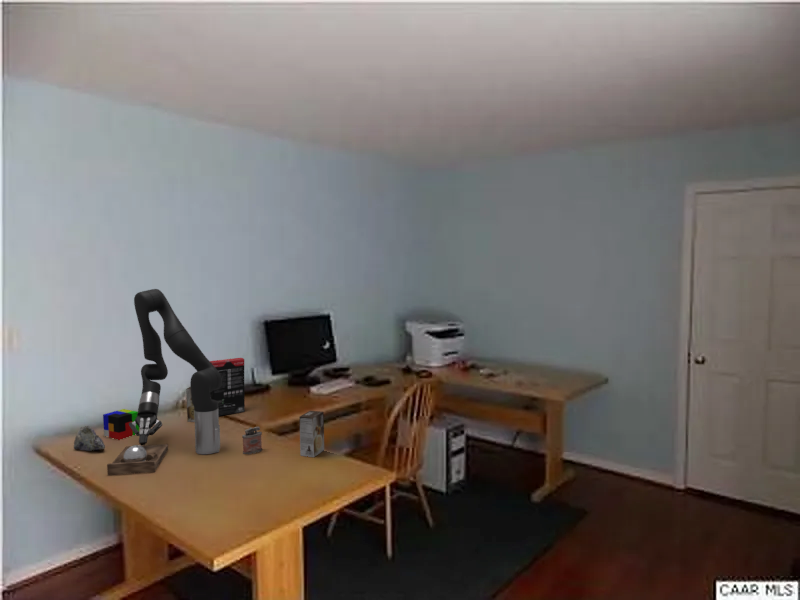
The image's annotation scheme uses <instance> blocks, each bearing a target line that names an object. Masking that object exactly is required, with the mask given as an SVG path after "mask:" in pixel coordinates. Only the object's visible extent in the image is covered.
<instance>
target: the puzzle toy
mask: <svg viewBox="0 0 800 600" xmlns="http://www.w3.org/2000/svg"><path fill="white" fill-rule="evenodd" d="M137 413H138V410H137V411H136V410H133V409H132V410H131V409H125V408H122V409H118V410H114V411H111V412H107V413H104V414H102V421H103V437H104V436H108V437H111V438H110V439H112V438H114V439H113V440H116V439H118V440H117V441H120V439H122V440H124V439H123V438H125V439H127V438H126V437H128V438H130V437H129V436H131V437H133V436H132V435H134V436H136V435H135V433H134V432H133V430H132V429H131V428H130V426H129V423H130V422H131V423H132V422H134V421H135V419H136V417H137ZM135 428H136V429H137V430H138V431H139V432H140V428H139V426H138V425H137V424H136V427H135Z"/></svg>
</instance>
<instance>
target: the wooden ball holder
mask: <svg viewBox="0 0 800 600" xmlns="http://www.w3.org/2000/svg"><path fill="white" fill-rule="evenodd" d="M141 446H142V447H143V448H145V450H146V452H147V458H146V460H145V461H141V462H126V463H125V461H124V453H125V451H126V450H127V449H128V448H129V447H131V445H130V446H125V447H124V448H123V449H122V450H121V452H119V454H118V455H117V457H116V458H115V459H114V460H113V461H112V463H107V465H106V469H107V470H106V471H107V476H117V475H119V476H120V475H121V476H122V475H132V474H133V475H134V473H135V474H147V473H146V472H150V473H155V472H156V471H155V470H157V468H159V465H160V464H161V463H162V460H164V458H165V456H166V454H167V452H168V451H169V444H168V443H164V444H163V443H162V444H148V445H147V444H145V445H141Z"/></svg>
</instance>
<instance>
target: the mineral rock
mask: <svg viewBox="0 0 800 600" xmlns="http://www.w3.org/2000/svg"><path fill="white" fill-rule="evenodd" d="M73 449H74V450H81V451H86V452H87V451H90V452H92V450H93V451H99V450H104V449H106V444H105V443H104V441H103V439H102V438H101V437H100V436H99V435H98V434H97V433H96V431H95V429H93V428H92V427H90V426H89V425H87V426H81V427H80V428H79V429H78V431H77V432H76V435H75V438H74V442H73Z"/></svg>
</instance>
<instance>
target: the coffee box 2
mask: <svg viewBox="0 0 800 600" xmlns="http://www.w3.org/2000/svg"><path fill="white" fill-rule="evenodd" d="M324 415H325V414H324V411H320V410H319V411H318V410H317V411H316V410H309V411H307V412H305V413H304V414H301V415H300V416H299V444H300V445H299V448H300V450H299V451H300V452H299V453H300V454H299V455H300V456H301V457H307V456H308V457H309V458H315V457H316V456H318V455H319V454H321V453H322V452H324V451H325V426H324V425H325V423H324V422H325V419H324V418H325V417H324Z"/></svg>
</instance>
